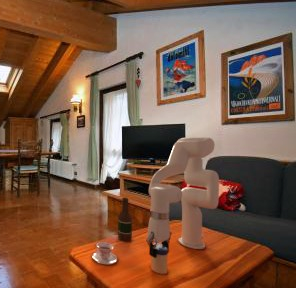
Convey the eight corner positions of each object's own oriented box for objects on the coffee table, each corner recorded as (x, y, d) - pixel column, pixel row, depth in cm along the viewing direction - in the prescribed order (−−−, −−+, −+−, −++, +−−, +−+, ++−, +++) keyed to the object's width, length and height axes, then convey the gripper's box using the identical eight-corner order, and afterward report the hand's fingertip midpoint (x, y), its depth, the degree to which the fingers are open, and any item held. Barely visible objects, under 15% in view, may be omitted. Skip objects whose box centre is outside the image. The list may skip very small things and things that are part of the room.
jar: (157, 263, 101) (157, 243, 101) (170, 270, 95) (170, 249, 95) (147, 267, 98) (148, 246, 98) (161, 275, 92) (161, 253, 92)
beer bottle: (132, 242, 122) (133, 200, 122) (118, 241, 124) (118, 199, 123) (130, 236, 130) (131, 197, 129) (117, 235, 131) (117, 196, 131)
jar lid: (157, 246, 101) (157, 241, 101) (171, 252, 95) (171, 248, 95) (147, 249, 98) (147, 245, 98) (161, 256, 92) (161, 252, 92)
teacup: (119, 255, 108) (119, 243, 108) (114, 267, 97) (115, 254, 97) (95, 250, 113) (95, 238, 113) (89, 261, 103) (89, 248, 102)
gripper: (163, 209, 104) (163, 245, 104) (139, 215, 95) (139, 254, 95) (179, 214, 97) (178, 252, 98) (154, 221, 89) (154, 263, 89)
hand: (159, 253), depth 96 cm, fingers open, 8 cm apart
